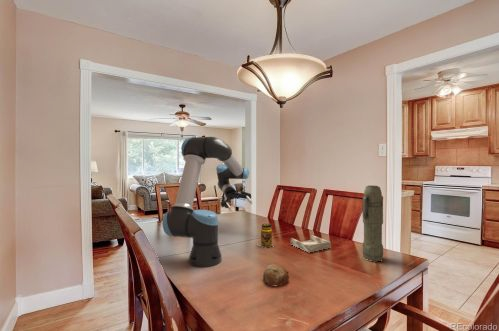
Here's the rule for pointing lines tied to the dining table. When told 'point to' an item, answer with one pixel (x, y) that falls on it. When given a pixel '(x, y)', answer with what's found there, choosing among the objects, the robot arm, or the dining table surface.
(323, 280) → the dining table surface
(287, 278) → the bread roll
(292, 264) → the dining table surface
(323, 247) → the u rest
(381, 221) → the thermos
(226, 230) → the dining table surface
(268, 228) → the condiment
